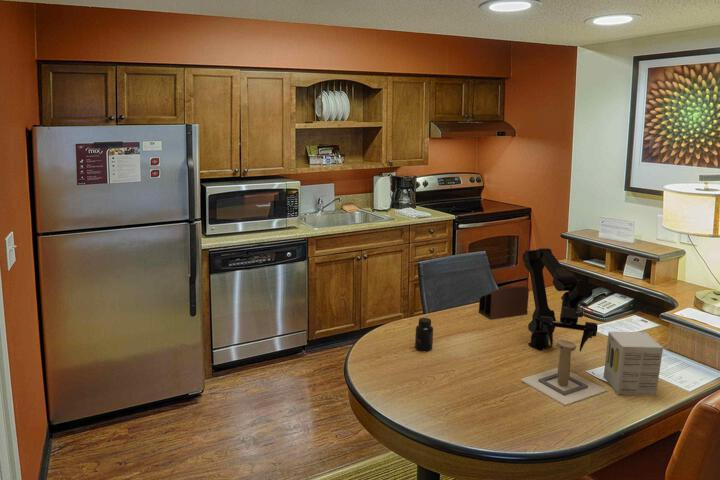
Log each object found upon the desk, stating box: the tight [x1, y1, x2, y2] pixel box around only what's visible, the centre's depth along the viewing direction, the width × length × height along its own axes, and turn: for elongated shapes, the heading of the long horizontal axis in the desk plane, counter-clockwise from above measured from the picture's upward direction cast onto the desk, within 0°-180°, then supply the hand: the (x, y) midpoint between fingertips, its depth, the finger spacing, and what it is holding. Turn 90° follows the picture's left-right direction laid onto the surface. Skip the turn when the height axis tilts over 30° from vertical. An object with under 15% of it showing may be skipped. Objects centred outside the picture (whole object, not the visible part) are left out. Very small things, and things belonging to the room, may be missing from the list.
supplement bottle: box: [414, 317, 434, 352], centre depth 228 cm, size 7×7×12 cm
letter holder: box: [478, 285, 530, 320], centre depth 266 cm, size 10×20×14 cm, turn 111°
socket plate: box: [519, 367, 608, 407], centre depth 200 cm, size 20×20×1 cm
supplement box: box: [603, 331, 664, 396], centre depth 199 cm, size 13×13×18 cm
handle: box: [555, 339, 577, 386], centre depth 199 cm, size 5×6×15 cm
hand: (565, 348), depth 200 cm, fingers open, 9 cm apart
